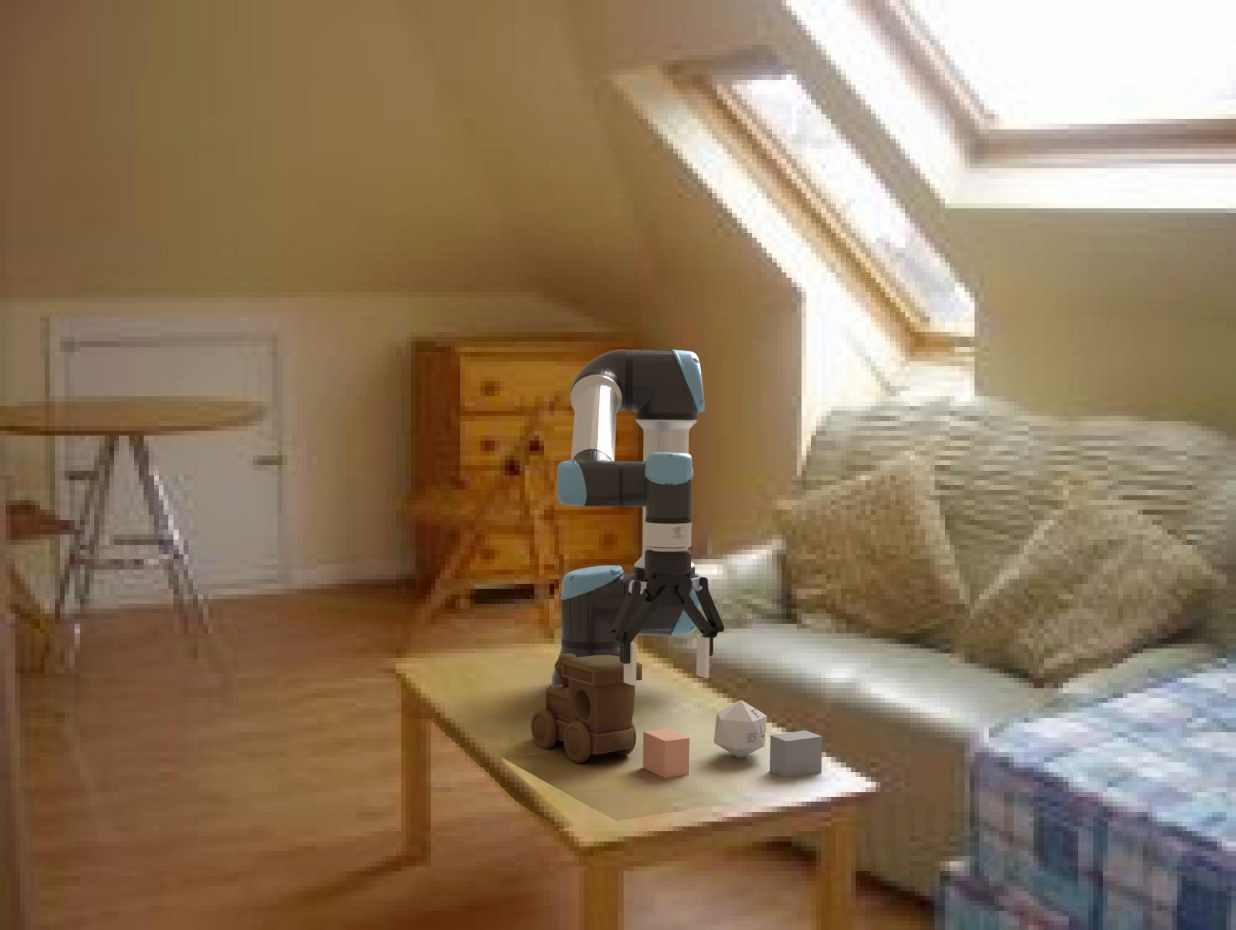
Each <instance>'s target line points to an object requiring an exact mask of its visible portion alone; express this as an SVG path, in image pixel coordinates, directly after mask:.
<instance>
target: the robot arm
mask: <svg viewBox="0 0 1236 930" xmlns="http://www.w3.org/2000/svg"><path fill="white" fill-rule="evenodd" d="M573 380H574V381H573V382H572V385H571V389H570V404H571V407H572V410H573V411H574V418H573V419H574V420H573V431H572V432H573V433H572V441H571V442H572V443H571V452H570V453H571V456H570V457H571V458H570V460H563V461H561V462H559V463H558V465H557V473H556V474H557V475H556V476H557V477H556V494H557V495H556V497H557V501H558V502H559V504H561V505H563V506H574V507H575V506H577V507H579V508H583V507H638V508H640V507H641V508H642V544H641V545H642V550H641V551H642V554H641V557H640V558H639V559H638V560H637V561H636V562H635V563H634V564H633V565H634V567H633V568H634V569H633V572H634V573H624V570H623V567H622V566H621V565H618V564H617V565H608V564H607V565H597V566H591V567H590V566H589V567H584V568H578V569H575V570H572V571H570V572H568V573H566V574H565V575H564V577H562V583H561V595H560V596H559V598H560V600H561V625H560V626H561V627H560V629H561V630H560V631H561V633H560V634H561V635H560V639H561V642H560V650H559V651H560V652H559V654H558V658H559V657H560V655H561V654H565V653H570V654H574V655H575V656H576V658H578V657H586V656H594V655H612V656H619V657H620V662H621V663H624V683H627V684H630V685H635V686H637V680H636V662H637V643H635V642H634V640H635V638H636V636H668V637H670V638H671V637H673V636H689V635H691V634H693V633H694V632H695V630H696V628H697V629H698V631H699V632H700V633H701V635H696V666H695V667H696V676H698V677H701V678H704V679H708V678H710V657H713V655H714V638H717V637H718V634H719V633H723V632H724V631H725V625H724V624H723V621H722V618H721V616H720V614H719V611H718V609H717V607H716V605H715V602H714V600H713V597H712V595H711V592H710V591H709V580H708V578H707V577H706V576H702V574H699V573H696V564H695V563H694V562H693V561H692V557H693V555H692V553H693V552H691V550H690V549H688V548H690V547H691V546H692V528H693V527H692V525H693V524H692V523H693V519H692V512H693V510H692V509H693V477H694V469H693V457H692V455H691V454H690V452H689V449H690V448H689V447H690V446H689V445H690V443H689V440H690V437H689V436H690V433H689V432H690V430H691V428H692V427H693V426H694V425H695V424H697V422H698V413H699V414H701V413H703V412H705V408H706V407H705V396H704V395H705V393H704V384H703V377H702V371H701V364H700V360H699V357H698V355H697V354H696V353H695V352H694V351H690V350H680V349H679V350H678V349H675V348H674V349H673V348H671V349H615V350H610V351H607V352H605V353H602V354H600V355H598V356H597V357H595V358H593V359H592V360H590V361H589V362H588V363H586V364H585V365H584V367H582V369H580V371H579V372H578V373H577V375H576V377H575V379H573ZM620 411H621V412H622V411H623V412H635V422H636V423H637V424H638V425H639V426H640V428H642V431H643V451H642V452H643V455H642V456H643V459H642V460H643V461H625V460H620V461H619V460H618V461H617V460H616V458H615V457H616V432H617V431H616V430H617V429H616V427H617V414H618V412H620ZM700 608H701V609H702V612H703V613H702V612H701V611H700ZM703 614H704V615H703ZM558 658H557V659H558ZM557 685H562V683H561V680H560V678H559V676H558V673H557V671H556V669H555V668H554V670H553V673H552V677H551V687H553V686H557Z"/></svg>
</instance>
